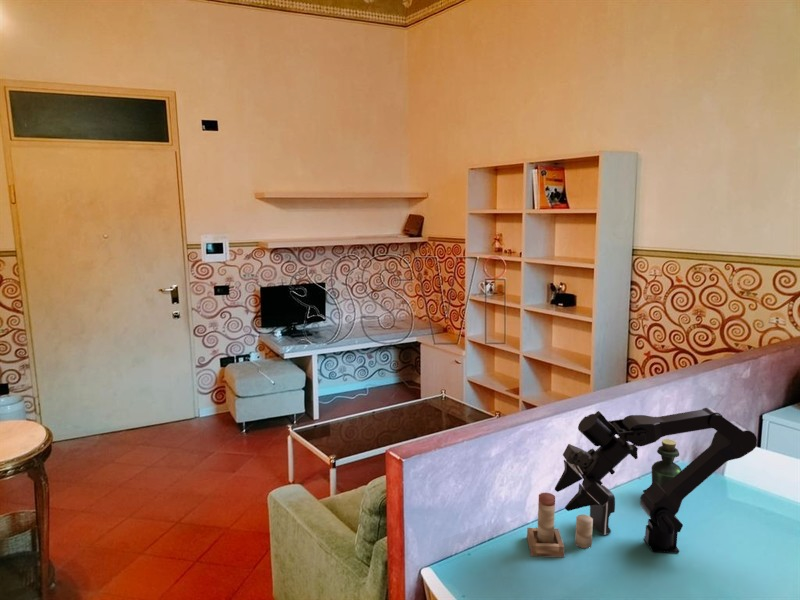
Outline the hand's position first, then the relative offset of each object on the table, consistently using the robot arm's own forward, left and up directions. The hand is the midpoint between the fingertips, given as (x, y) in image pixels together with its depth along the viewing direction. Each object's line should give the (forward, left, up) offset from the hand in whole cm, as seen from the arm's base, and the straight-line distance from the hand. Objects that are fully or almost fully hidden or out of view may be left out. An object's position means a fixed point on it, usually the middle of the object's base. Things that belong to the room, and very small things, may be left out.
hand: (560, 499), depth 146 cm
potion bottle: (-35, -25, -13) cm, 45 cm away
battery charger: (-13, -9, -13) cm, 21 cm away
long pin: (+4, 0, -12) cm, 13 cm away
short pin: (-6, -2, -13) cm, 15 cm away
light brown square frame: (+4, 0, -13) cm, 13 cm away
